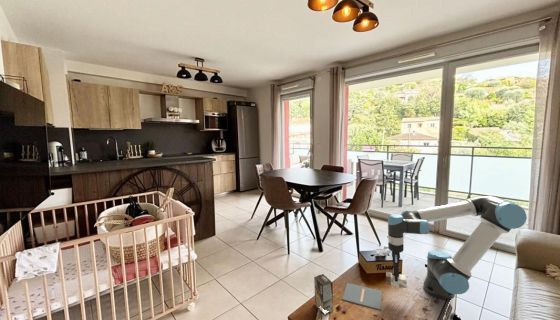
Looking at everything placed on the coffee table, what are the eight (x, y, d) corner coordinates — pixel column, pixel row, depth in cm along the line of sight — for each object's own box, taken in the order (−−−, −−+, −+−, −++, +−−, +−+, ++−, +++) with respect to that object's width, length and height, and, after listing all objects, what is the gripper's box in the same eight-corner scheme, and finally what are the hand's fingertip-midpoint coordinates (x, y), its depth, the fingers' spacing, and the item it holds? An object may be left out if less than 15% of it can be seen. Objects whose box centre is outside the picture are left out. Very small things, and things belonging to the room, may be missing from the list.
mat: (381, 292, 135) (381, 291, 135) (380, 310, 121) (380, 309, 120) (347, 283, 144) (347, 282, 144) (342, 299, 129) (342, 298, 129)
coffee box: (333, 311, 121) (333, 282, 120) (323, 315, 118) (323, 286, 117) (323, 300, 129) (323, 273, 128) (314, 304, 127) (313, 276, 125)
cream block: (406, 283, 127) (406, 275, 127) (406, 288, 123) (406, 280, 123) (386, 279, 132) (386, 271, 131) (386, 284, 127) (386, 276, 127)
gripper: (388, 235, 135) (388, 272, 137) (388, 248, 119) (388, 291, 121) (402, 237, 132) (403, 275, 134) (404, 251, 116) (404, 294, 118)
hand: (396, 282), depth 127 cm, fingers closed on cream block, 5 cm apart
